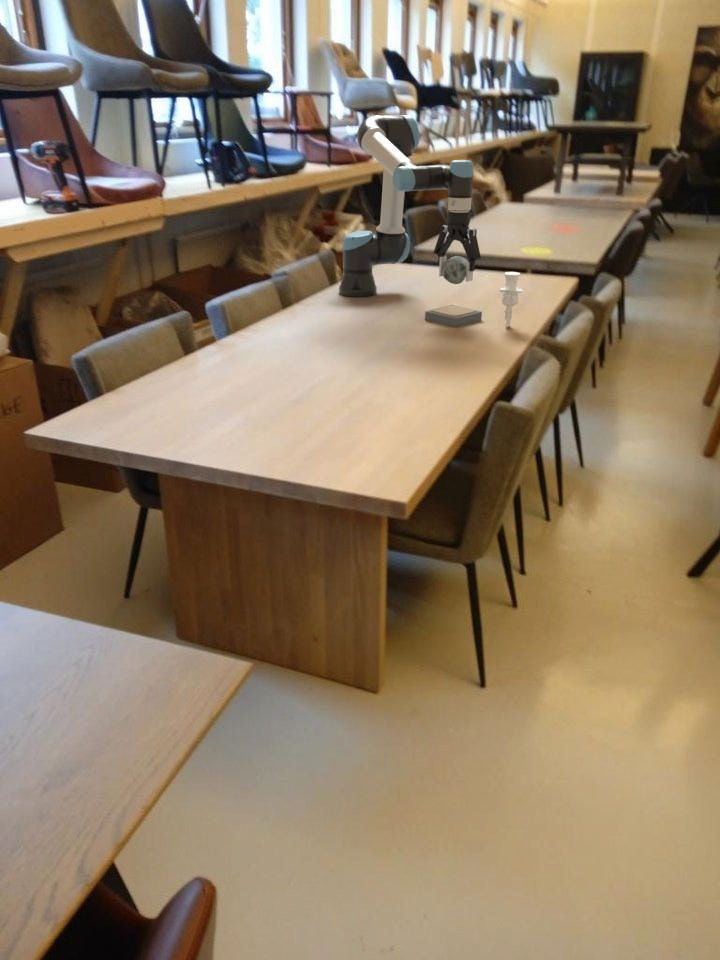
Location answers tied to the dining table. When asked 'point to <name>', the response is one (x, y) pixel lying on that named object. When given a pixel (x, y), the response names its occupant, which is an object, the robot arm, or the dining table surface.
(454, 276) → the grey streaked ellipsoid
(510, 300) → the figurine
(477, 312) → the stand
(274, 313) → the dining table surface
